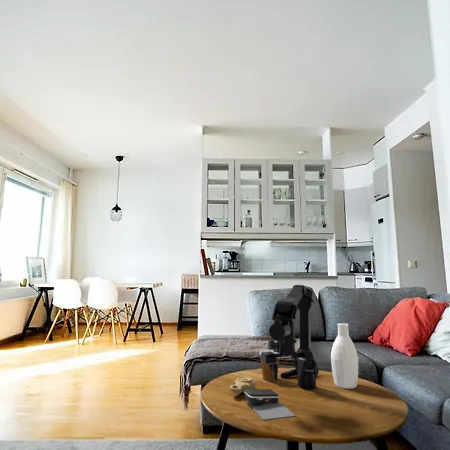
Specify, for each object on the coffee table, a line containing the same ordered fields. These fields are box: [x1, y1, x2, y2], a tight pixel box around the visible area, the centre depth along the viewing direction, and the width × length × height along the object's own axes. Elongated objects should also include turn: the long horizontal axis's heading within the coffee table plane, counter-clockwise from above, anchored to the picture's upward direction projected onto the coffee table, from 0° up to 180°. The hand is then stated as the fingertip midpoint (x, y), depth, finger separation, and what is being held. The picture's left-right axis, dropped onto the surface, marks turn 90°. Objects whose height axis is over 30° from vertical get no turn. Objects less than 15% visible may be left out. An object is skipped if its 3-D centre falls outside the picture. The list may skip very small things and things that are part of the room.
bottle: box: [330, 322, 359, 390], centre depth 144 cm, size 11×11×25 cm
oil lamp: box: [229, 375, 258, 395], centre depth 134 cm, size 11×14×5 cm
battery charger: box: [244, 388, 280, 405], centre depth 123 cm, size 7×4×11 cm
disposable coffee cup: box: [259, 348, 280, 382], centre depth 151 cm, size 10×10×12 cm
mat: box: [248, 400, 296, 421], centre depth 117 cm, size 12×14×1 cm
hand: (287, 381), depth 119 cm, fingers open, 9 cm apart
